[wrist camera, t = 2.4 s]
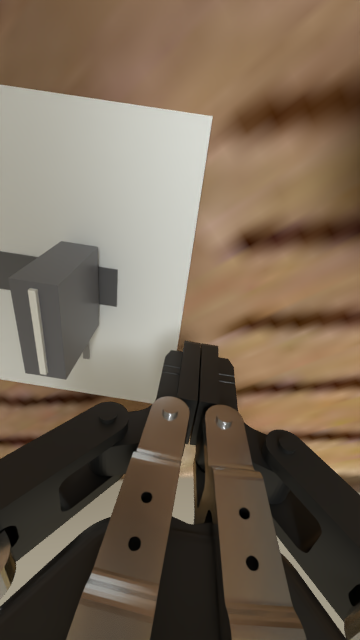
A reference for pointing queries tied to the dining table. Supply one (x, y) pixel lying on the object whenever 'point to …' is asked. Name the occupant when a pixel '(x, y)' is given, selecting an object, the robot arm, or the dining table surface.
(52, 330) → the fader tab
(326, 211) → the dining table surface
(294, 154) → the dining table surface
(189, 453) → the dining table surface
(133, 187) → the console board
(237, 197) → the dining table surface
